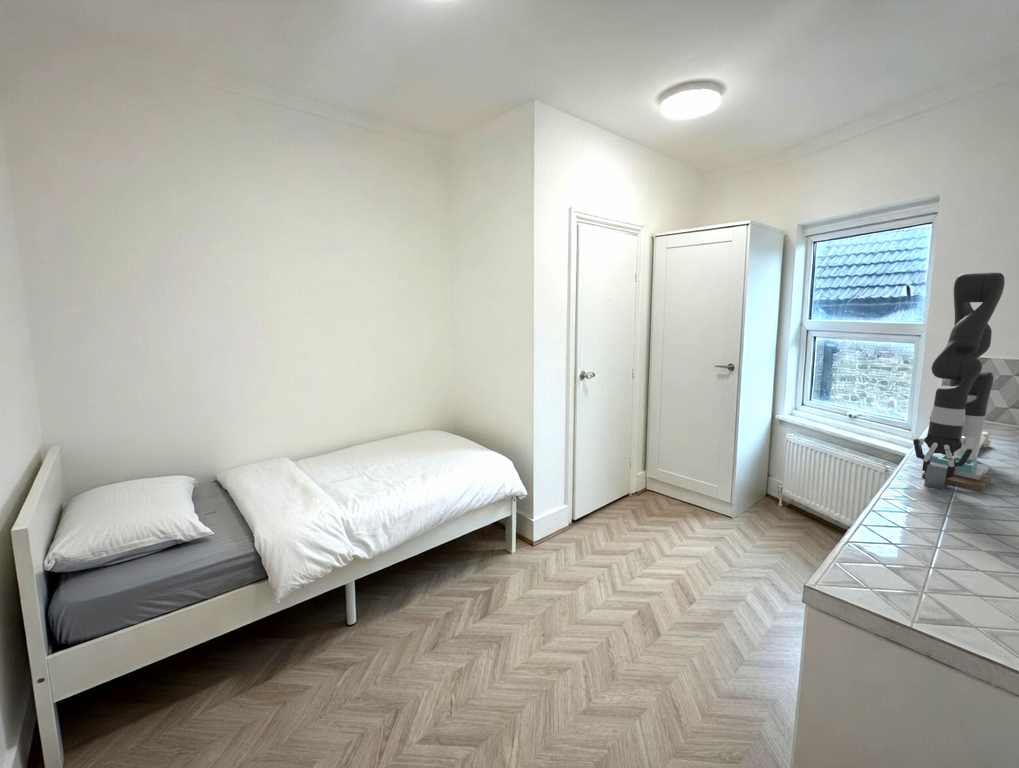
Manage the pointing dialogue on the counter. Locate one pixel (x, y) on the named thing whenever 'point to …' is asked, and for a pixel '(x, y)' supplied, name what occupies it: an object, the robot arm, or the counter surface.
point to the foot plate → (968, 482)
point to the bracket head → (967, 467)
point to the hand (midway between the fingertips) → (937, 474)
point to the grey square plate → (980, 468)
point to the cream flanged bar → (985, 440)
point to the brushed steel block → (936, 476)
